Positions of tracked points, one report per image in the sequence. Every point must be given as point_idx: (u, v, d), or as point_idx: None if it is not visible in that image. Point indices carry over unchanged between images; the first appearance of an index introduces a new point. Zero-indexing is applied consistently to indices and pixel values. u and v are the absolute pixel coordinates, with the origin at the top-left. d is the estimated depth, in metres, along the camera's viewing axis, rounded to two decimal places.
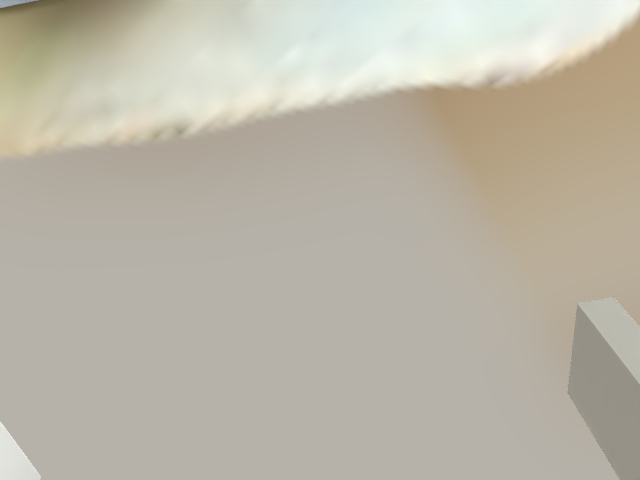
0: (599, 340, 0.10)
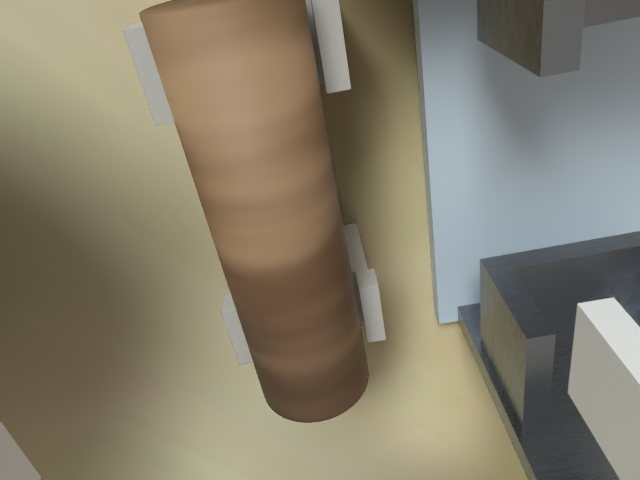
0: (600, 340, 0.10)
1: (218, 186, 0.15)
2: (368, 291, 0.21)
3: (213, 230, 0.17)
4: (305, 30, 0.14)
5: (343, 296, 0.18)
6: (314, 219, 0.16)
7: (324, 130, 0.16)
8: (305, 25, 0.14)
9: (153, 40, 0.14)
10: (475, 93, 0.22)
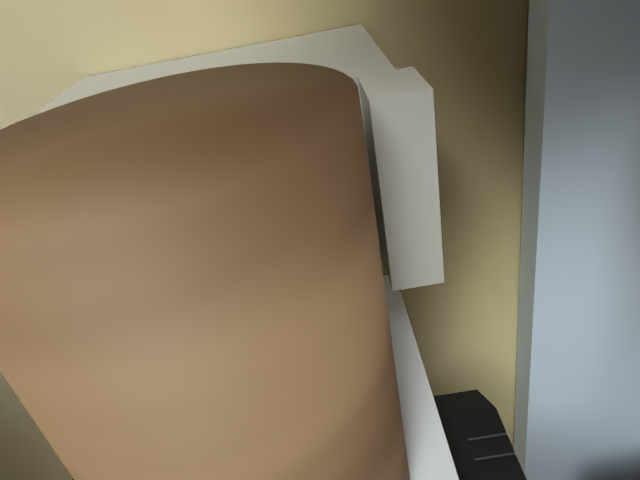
0: None
1: None
2: None
3: None
4: (367, 223, 0.05)
5: None
6: None
7: (396, 406, 0.07)
8: (367, 209, 0.05)
9: None
10: (625, 220, 0.13)
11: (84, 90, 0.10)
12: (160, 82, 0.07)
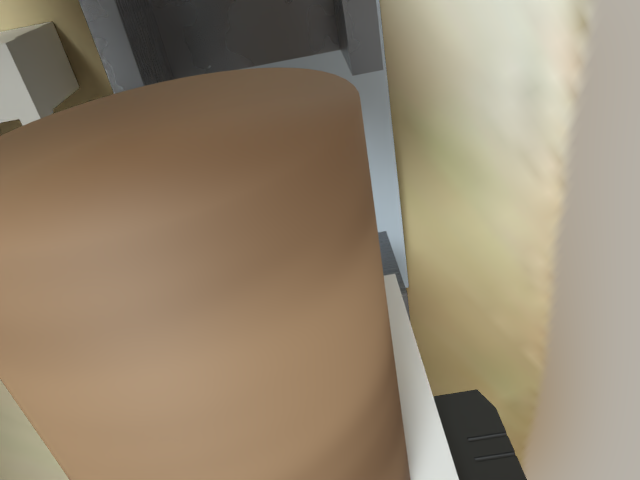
0: None
1: None
2: None
3: None
4: (369, 230, 0.05)
5: None
6: None
7: (397, 412, 0.07)
8: (369, 216, 0.05)
9: None
10: None
11: None
12: (161, 87, 0.07)
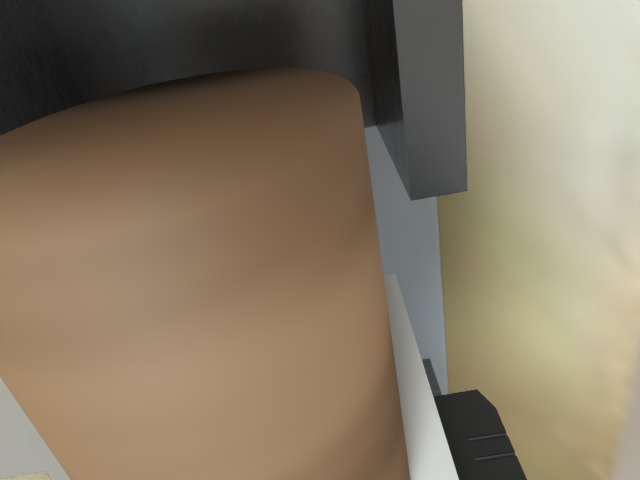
0: None
1: None
2: (38, 445, 0.17)
3: None
4: (369, 230, 0.05)
5: None
6: None
7: (397, 411, 0.07)
8: (369, 216, 0.05)
9: None
10: None
11: None
12: (161, 87, 0.07)
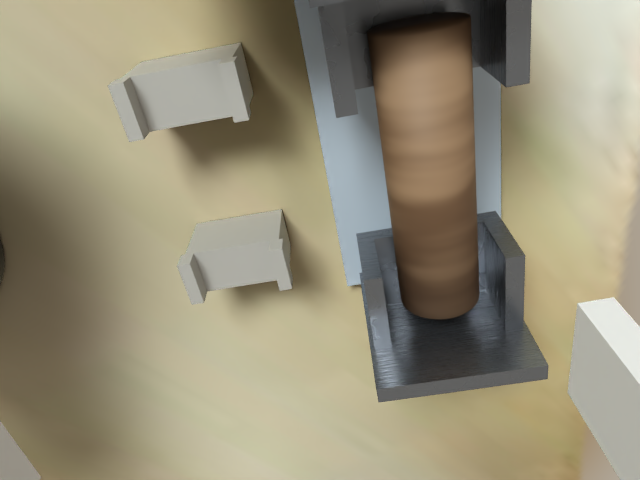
0: (599, 340, 0.10)
1: (408, 144, 0.24)
2: (275, 253, 0.31)
3: (394, 176, 0.25)
4: (471, 45, 0.23)
5: (474, 225, 0.27)
6: (465, 168, 0.25)
7: (473, 109, 0.24)
8: (471, 42, 0.23)
9: (381, 52, 0.22)
10: (351, 119, 0.32)
11: (142, 65, 0.29)
12: (405, 18, 0.25)
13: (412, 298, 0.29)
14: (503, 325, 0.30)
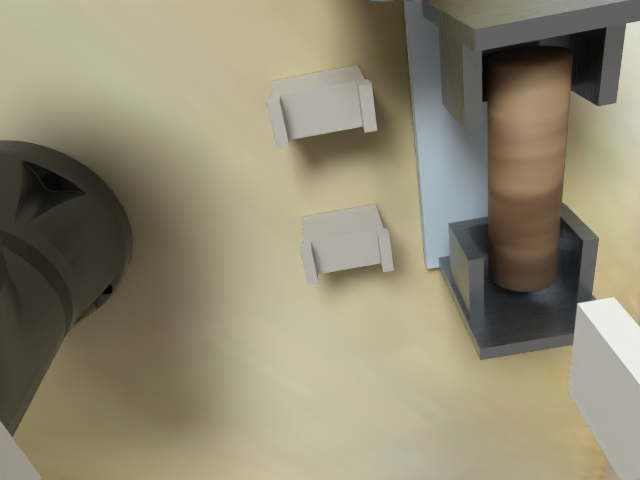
0: (600, 340, 0.10)
1: (519, 150, 0.30)
2: (384, 240, 0.38)
3: (501, 175, 0.32)
4: (571, 73, 0.29)
5: (560, 214, 0.33)
6: (560, 168, 0.31)
7: None
8: None
9: (504, 79, 0.29)
10: (445, 128, 0.38)
11: (279, 84, 0.35)
12: (512, 50, 0.31)
13: (504, 275, 0.36)
14: (575, 296, 0.37)
